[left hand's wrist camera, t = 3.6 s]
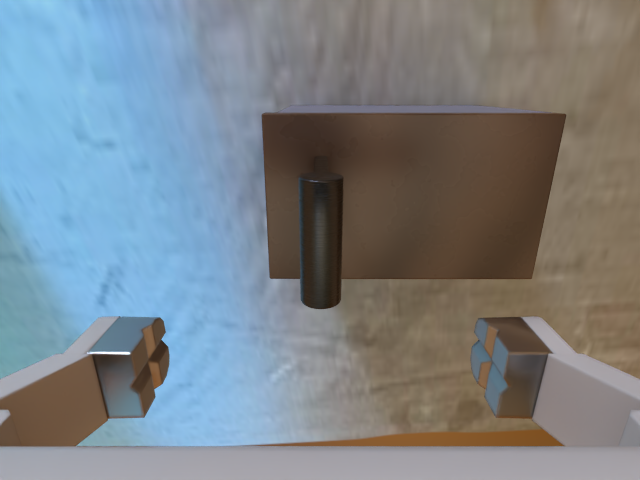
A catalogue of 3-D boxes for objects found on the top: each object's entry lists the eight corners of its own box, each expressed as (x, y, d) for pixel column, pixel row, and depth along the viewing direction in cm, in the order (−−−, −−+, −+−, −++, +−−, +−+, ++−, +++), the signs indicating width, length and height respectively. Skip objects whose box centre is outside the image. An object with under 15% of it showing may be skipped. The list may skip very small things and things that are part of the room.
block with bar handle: (271, 270, 26) (250, 349, 18) (264, 112, 22) (233, 124, 15) (522, 271, 26) (610, 350, 18) (554, 112, 22) (681, 124, 14)
